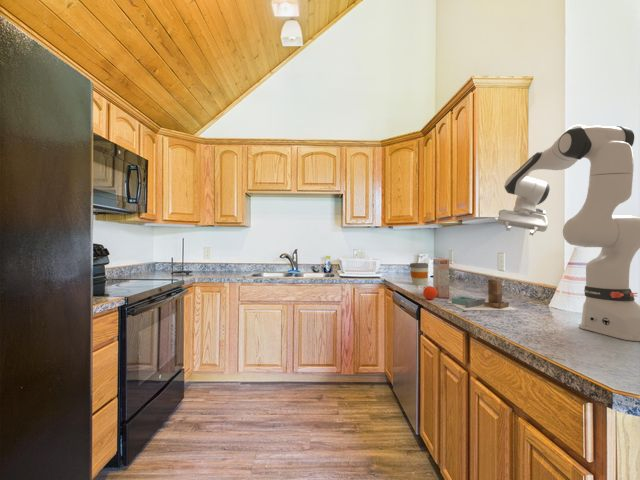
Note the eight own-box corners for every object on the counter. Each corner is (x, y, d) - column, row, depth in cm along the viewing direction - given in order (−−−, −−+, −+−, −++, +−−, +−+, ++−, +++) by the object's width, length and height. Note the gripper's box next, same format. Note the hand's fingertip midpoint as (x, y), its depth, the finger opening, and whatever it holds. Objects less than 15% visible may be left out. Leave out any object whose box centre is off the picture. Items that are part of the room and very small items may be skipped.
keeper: (508, 306, 142) (508, 302, 142) (500, 308, 138) (500, 304, 138) (492, 304, 148) (492, 300, 148) (484, 306, 144) (484, 301, 144)
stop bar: (502, 306, 143) (501, 279, 143) (497, 307, 141) (497, 280, 141) (492, 305, 146) (492, 279, 146) (488, 306, 144) (488, 279, 144)
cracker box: (449, 298, 171) (449, 259, 171) (438, 298, 172) (437, 259, 172) (443, 294, 184) (443, 258, 185) (433, 293, 185) (432, 258, 186)
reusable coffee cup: (407, 284, 227) (407, 263, 227) (414, 282, 237) (414, 262, 237) (424, 286, 219) (424, 264, 219) (431, 284, 229) (430, 263, 229)
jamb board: (518, 311, 136) (518, 303, 136) (464, 312, 137) (464, 304, 137) (493, 303, 156) (492, 296, 156) (446, 303, 157) (446, 296, 157)
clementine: (418, 298, 170) (418, 285, 170) (427, 297, 173) (427, 284, 173) (431, 301, 163) (431, 287, 163) (439, 299, 167) (439, 286, 167)
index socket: (476, 303, 150) (475, 298, 150) (466, 305, 145) (466, 300, 145) (460, 301, 156) (460, 296, 156) (451, 303, 151) (451, 298, 152)
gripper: (500, 204, 157) (495, 222, 150) (550, 211, 148) (547, 231, 140) (498, 214, 162) (493, 232, 154) (546, 221, 152) (543, 241, 144)
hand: (519, 232), depth 147 cm, fingers open, 8 cm apart
